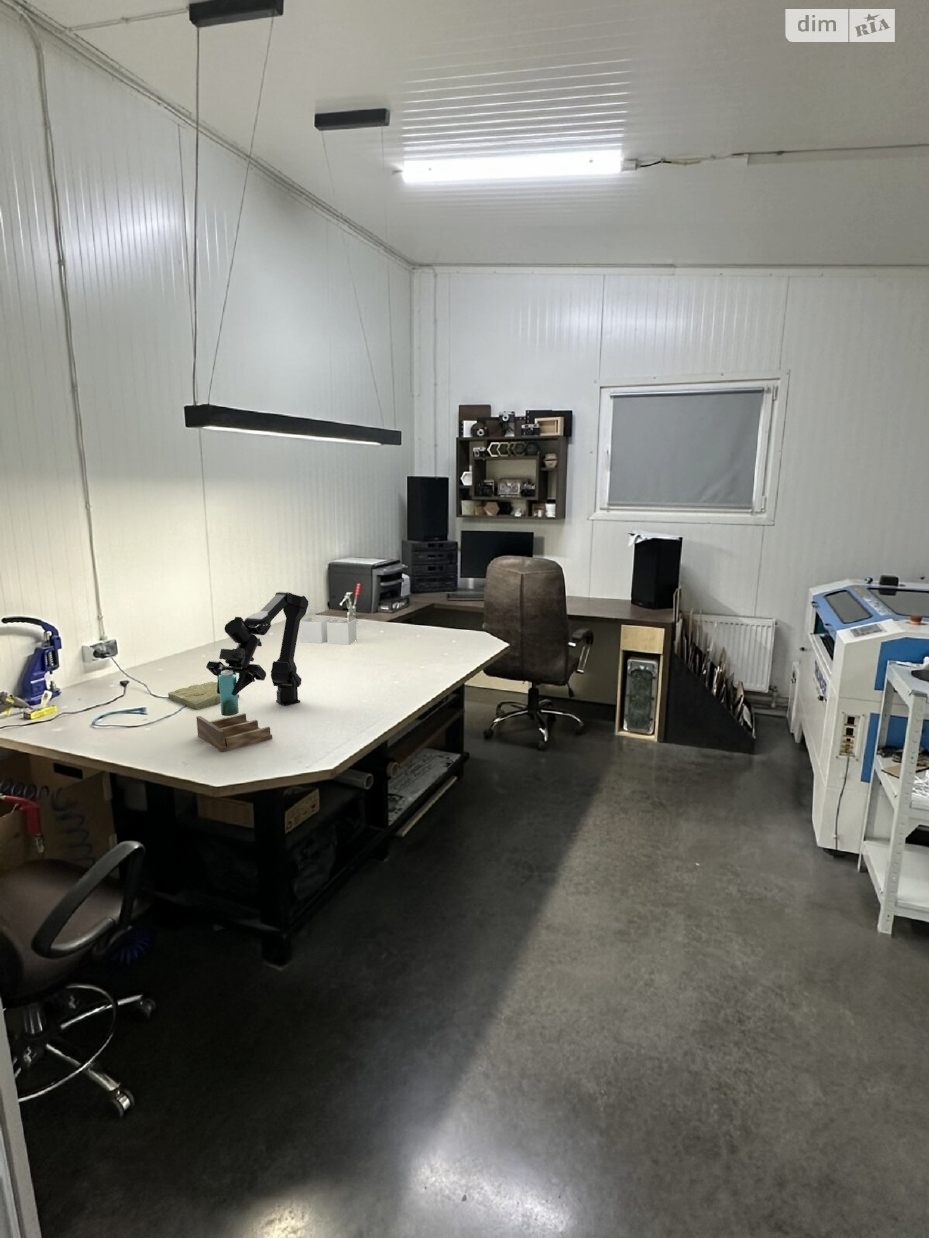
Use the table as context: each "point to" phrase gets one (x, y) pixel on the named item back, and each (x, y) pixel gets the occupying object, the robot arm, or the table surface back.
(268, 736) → the rack
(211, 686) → the decorative tile
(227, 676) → the spray can
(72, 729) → the table surface
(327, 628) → the storage container
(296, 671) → the robot arm
